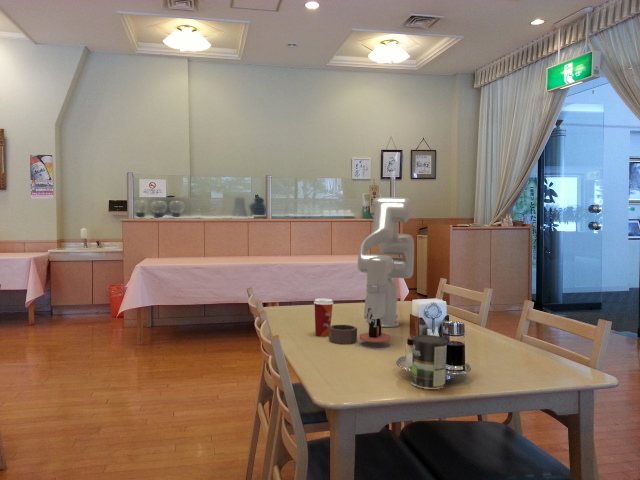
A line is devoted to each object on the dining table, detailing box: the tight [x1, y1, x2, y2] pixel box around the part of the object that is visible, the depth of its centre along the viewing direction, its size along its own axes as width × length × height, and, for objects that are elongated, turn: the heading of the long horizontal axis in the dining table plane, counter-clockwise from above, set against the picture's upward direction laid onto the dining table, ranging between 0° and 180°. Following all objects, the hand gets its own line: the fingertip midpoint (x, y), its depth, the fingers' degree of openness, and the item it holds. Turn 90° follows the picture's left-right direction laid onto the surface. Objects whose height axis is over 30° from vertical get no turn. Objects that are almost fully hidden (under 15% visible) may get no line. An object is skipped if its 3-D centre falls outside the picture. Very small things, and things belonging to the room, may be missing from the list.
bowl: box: [328, 324, 358, 345], centre depth 215 cm, size 10×10×6 cm
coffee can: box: [410, 334, 448, 388], centre depth 164 cm, size 10×10×14 cm
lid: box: [358, 325, 391, 343], centre depth 210 cm, size 12×12×5 cm
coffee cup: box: [313, 297, 334, 338], centre depth 227 cm, size 8×8×15 cm
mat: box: [354, 341, 394, 351], centre depth 210 cm, size 11×11×1 cm
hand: (374, 335), depth 210 cm, fingers closed on lid, 3 cm apart
